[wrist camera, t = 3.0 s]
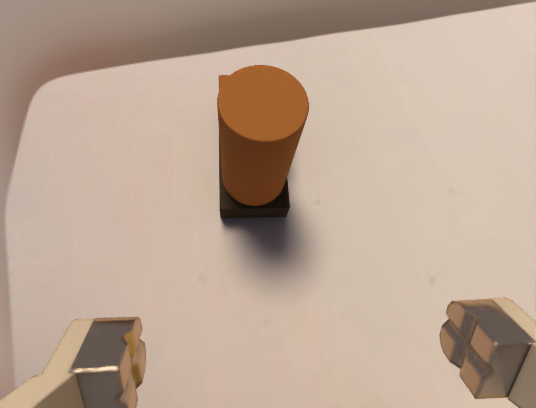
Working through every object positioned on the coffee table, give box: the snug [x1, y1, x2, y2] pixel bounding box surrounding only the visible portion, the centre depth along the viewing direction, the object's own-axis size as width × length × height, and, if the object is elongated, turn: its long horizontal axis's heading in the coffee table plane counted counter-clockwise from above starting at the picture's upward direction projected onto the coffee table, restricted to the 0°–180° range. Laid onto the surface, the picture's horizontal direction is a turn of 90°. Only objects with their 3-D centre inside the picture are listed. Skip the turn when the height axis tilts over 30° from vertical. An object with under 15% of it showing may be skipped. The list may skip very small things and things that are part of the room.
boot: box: [217, 65, 309, 218], centre depth 24 cm, size 5×10×11 cm, turn 3°
